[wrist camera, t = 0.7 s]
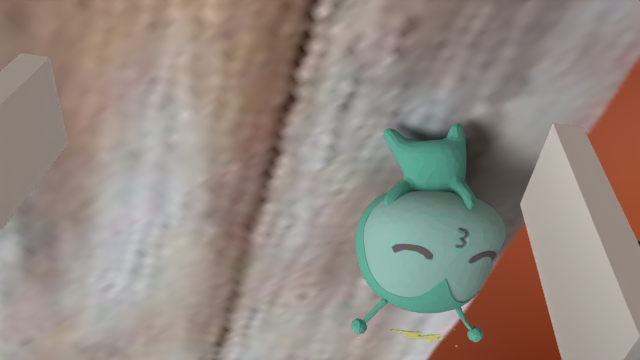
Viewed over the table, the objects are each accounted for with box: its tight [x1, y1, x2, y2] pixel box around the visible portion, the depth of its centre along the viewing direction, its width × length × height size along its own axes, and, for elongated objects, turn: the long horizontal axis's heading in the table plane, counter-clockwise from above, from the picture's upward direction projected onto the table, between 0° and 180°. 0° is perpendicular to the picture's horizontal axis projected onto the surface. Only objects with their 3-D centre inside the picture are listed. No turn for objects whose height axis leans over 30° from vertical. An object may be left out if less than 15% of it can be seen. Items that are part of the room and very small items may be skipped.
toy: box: [351, 123, 506, 347], centre depth 38 cm, size 10×10×15 cm
